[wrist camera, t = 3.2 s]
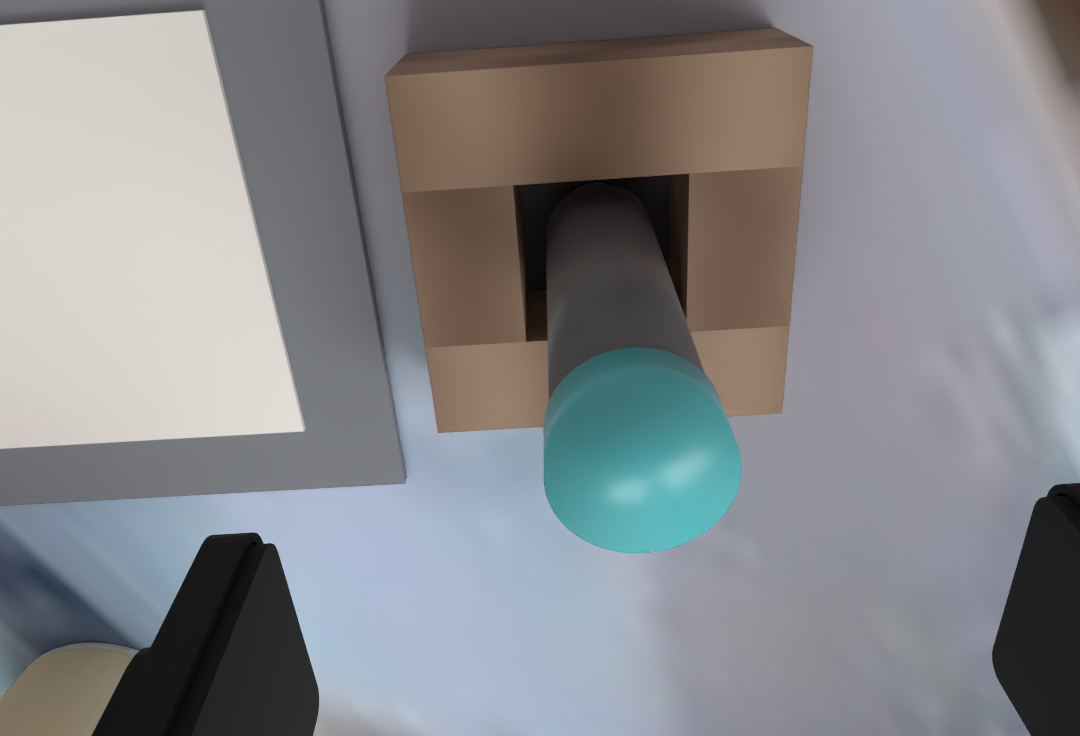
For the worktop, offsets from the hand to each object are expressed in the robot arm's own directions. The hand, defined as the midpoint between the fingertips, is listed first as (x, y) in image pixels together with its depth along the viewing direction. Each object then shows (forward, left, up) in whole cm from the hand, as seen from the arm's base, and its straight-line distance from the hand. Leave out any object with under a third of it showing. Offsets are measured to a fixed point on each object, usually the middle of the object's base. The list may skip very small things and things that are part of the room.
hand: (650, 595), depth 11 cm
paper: (+19, +1, -16) cm, 25 cm away
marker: (0, +1, -16) cm, 16 cm away
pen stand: (0, +1, -16) cm, 16 cm away
